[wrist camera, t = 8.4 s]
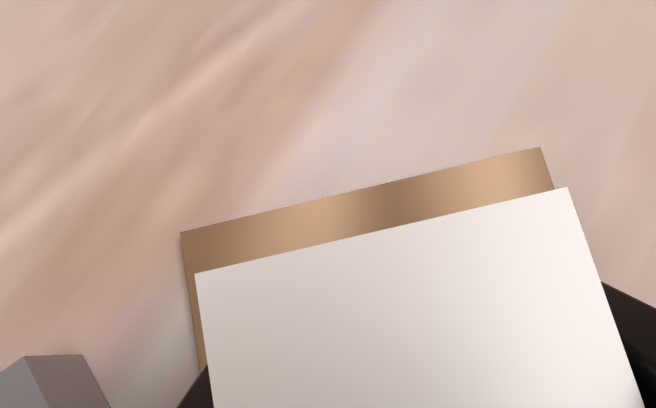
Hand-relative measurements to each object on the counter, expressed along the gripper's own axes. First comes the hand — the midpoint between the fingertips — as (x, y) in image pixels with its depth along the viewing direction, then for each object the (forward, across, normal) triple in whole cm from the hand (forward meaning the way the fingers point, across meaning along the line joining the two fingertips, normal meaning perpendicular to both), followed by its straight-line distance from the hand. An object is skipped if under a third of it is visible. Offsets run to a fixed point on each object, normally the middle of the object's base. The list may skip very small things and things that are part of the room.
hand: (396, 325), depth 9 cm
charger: (+4, 0, +6) cm, 7 cm away
